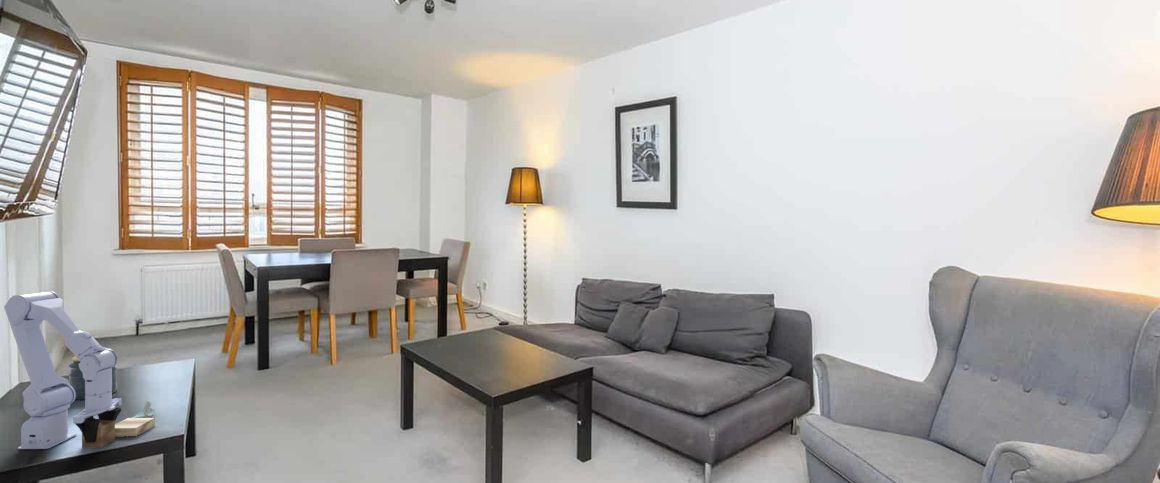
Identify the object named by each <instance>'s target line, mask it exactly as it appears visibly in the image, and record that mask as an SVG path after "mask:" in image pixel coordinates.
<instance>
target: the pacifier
mask: <svg viewBox="0 0 1160 483" xmlns="http://www.w3.org/2000/svg"><path fill="white" fill-rule="evenodd" d="M151 406H152V402H151V400H150V399H148V400H146V401H145V404H144V407H143V409H142V410H140V411H138V412H137V413H136V415H134V416H132V418H154V415H155V414H156V413H155V412H156V411H155V409H153V408H150V407H151Z"/></svg>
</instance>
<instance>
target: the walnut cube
mask: <svg viewBox="0 0 1160 483" xmlns="http://www.w3.org/2000/svg"><path fill="white" fill-rule="evenodd" d="M115 424H116V420H101V421H100V423H99V426H98V429H97V437H96V441H95V442H94V443H86V441H85V438H84V436H83V434H82V433H81V448H82V449H85V448H87V449H89V448H90V449H91V448H92V449H96V448H98V449H99V448H100V449H101V448H103V447H104V446H107V445H109V444H110V443H112V442H114V441H116V437H115ZM108 443H109V444H108Z"/></svg>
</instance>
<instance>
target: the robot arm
mask: <svg viewBox="0 0 1160 483" xmlns="http://www.w3.org/2000/svg"><path fill="white" fill-rule="evenodd" d="M63 307H64V300H63V299H62V298H60V295H59V294H58V293H56V292H55V291H53V290H45V291H42V292H35V293H34V292H33V293H26V294H15V295H12V296H11V297H10V298H9V299H8V300H7V301H6V303H5V305H4V306H3V308H4V311H5V314H6V316H7V320H8V321H9V325H10V329H11V331H12V334H13V337H14V340H15V343H16V345H17V348H18V351H19V354H20V356H21V359H22V362H23V365H24V368H25V371H26V373H27V376H28V379H29V381H30V384H29V385H28V386H27V387H26V388H25V389H24V391H23V392H22V397H23V410H24V411H25V412H26V413H27V415H29V416H30V418H28V419H27V420H25V422H23V424H22V425H21V427H20V443H21V444H20V446H18V447H17V449H18V450H46V449H47V450H48V449H50V448H53V447H54V446H57V445H59V444H60V443H64V442H65V441H68V440H70V439H72V438H74V437H76V436H77V433H68V432H69V430H68V429H69V427H68V426H69V422H68V420H69V419H68V418H69V417H68V414H69V411H68V409H69V408H71V404H72V403H73V402H75V400H76V399H75V397H76V393H75V390H74V388H73V387H72V386H71V385H70V384H69V379H67V378H65V377H62V376H59V375H57V372H56V369H55V366H54V363H53V360H52V357H51V354H50V352H49V350H48V347H47V344H46V342H45V338H44V335H43V333H42V330H41V327H40V325H41V324H42V323H43V322H44V321H46V322H47V323H48V324H50V325H51V326H52V327H53V328H54V329H55V330H57V332H58V333H59V334H61V336H63V337H64V338H65V341H64V345H65V346H66V347H67V348H68V349H69V350H70V352H71V353H72V354H73V355H74V357H75V356H76V357H77V358H78V359H79V360H80V361H81V362H80V363H79V368H80V370H81V371H82V373H83V378H84V379H85V399H84V409H83V410H82V411H80V412H79V413H78V414H76V415H73V416H72V419H73V421H72V423H73V424H75V426H76V427H78V429H79V430H80V432H81V435H82V434H83V436H84V438H85V441H86V443H94V442H95V441H96V437H97V429H98V426H99V423H100V421H101V420H115V421H117V418H118V416H120V413H121V412H122V407H120V406H122V405H123V404H122V402H123V400H122V399H123V398H113V393H112V367H114V366H115V367H116V365H117V363H118V355H117V354H116V351H115V350H114V349H111V348H107V347H105V346H102V345H101V344H100V342H99V341H97V340H96V339H95V337H93V335H92V334H91V333H90V332H89V331H85V330H80V329H79V327H78V325H76V324H75V322H74V321H73V319H72V318H71V317H70V316H69V314H68V313H67V311H66V310H65V309H64V308H63ZM95 416H97V417H98V418H96V417H95Z"/></svg>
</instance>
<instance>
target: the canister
mask: <svg viewBox="0 0 1160 483" xmlns="http://www.w3.org/2000/svg"><path fill="white" fill-rule="evenodd" d="M71 360H72V361H73V362H71V363H69V364H68V367H69V368H70V373H69V374H68V378H69V379H68V382H69V384H70V385H71V386H72V387H73V388H74V390H75V393H76V397H75V400H85V379H84V378H83V373H82V371H81V370H80V368H79V363H80V362H81V361H80V360H79V359H78V358H77V357H76V356H75V355H74V356H73V357H72V358H71ZM117 370H118V368H117V367H116V365H115V366H114V367H112V394H114V393H115V392H116V391H117V389H118V382H117V374H118V373H117Z"/></svg>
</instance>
